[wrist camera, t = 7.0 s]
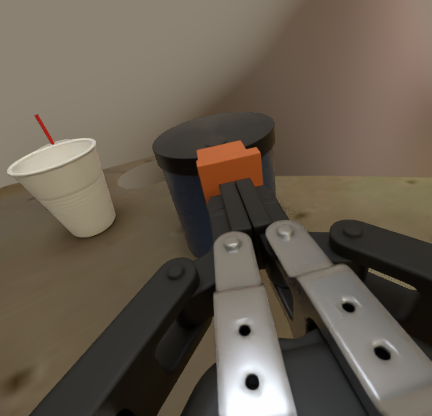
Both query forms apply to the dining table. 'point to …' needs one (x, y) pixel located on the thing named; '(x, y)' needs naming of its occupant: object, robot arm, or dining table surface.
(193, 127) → the blue lidded canister
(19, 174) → the cup
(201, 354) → the dining table surface
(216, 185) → the slider
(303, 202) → the dining table surface
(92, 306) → the dining table surface
